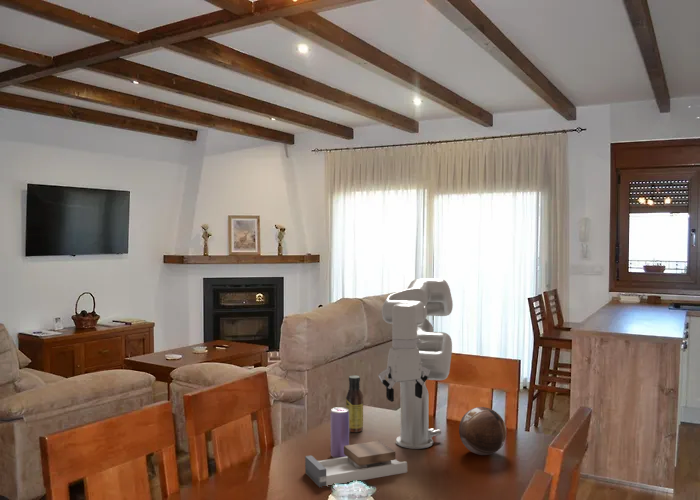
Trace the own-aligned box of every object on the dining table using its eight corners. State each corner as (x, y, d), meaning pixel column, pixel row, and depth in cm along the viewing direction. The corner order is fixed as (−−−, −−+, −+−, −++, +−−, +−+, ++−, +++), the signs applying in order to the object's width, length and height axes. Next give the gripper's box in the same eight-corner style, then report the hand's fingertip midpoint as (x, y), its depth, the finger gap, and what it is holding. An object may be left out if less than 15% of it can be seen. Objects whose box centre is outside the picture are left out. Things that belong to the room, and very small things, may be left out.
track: (388, 459, 199) (388, 443, 199) (407, 472, 188) (407, 455, 188) (305, 472, 187) (305, 456, 187) (319, 487, 176) (319, 470, 176)
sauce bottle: (347, 427, 232) (347, 374, 231) (364, 428, 231) (364, 374, 230) (344, 433, 225) (344, 378, 225) (362, 433, 224) (361, 378, 224)
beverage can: (347, 459, 198) (347, 412, 198) (328, 458, 199) (328, 411, 199) (350, 453, 204) (350, 407, 204) (333, 452, 205) (332, 406, 205)
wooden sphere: (449, 452, 205) (449, 406, 204) (480, 443, 214) (480, 399, 214) (485, 465, 193) (485, 417, 193) (516, 455, 202) (516, 409, 202)
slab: (379, 455, 197) (378, 440, 197) (395, 467, 187) (395, 451, 187) (343, 461, 192) (343, 445, 192) (358, 473, 182) (358, 457, 182)
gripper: (423, 340, 200) (423, 393, 201) (373, 343, 194) (374, 398, 194) (435, 343, 193) (435, 399, 194) (384, 347, 187) (384, 405, 187)
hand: (404, 398), depth 194 cm, fingers open, 9 cm apart
